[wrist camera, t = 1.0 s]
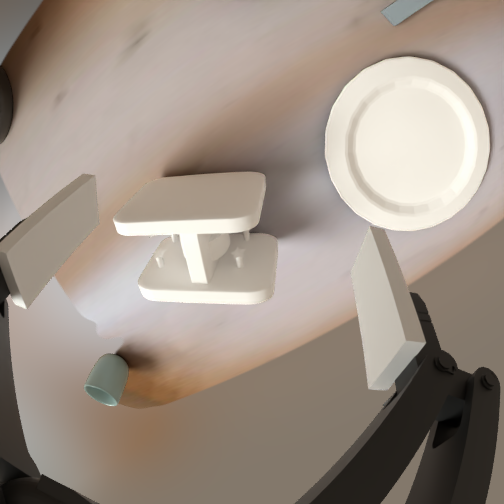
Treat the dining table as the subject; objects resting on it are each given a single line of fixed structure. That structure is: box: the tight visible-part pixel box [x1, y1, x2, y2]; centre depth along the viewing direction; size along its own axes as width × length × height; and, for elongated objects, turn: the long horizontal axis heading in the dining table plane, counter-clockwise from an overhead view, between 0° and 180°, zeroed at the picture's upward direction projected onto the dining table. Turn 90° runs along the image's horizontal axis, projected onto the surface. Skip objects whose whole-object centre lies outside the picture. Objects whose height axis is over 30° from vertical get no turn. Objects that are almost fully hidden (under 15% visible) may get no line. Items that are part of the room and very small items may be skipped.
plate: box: [325, 56, 490, 231], centre depth 30 cm, size 21×21×2 cm
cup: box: [84, 354, 129, 406], centre depth 58 cm, size 8×8×10 cm
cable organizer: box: [113, 172, 278, 304], centre depth 34 cm, size 15×11×12 cm
